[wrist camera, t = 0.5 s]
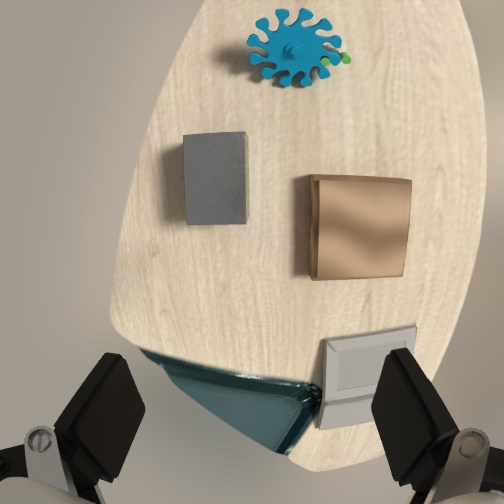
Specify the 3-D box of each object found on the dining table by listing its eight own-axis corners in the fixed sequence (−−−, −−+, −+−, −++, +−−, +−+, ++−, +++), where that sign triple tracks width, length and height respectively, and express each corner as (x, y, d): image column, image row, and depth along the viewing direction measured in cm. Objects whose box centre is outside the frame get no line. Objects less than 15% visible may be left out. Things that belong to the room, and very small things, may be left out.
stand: (310, 174, 30) (314, 175, 27) (402, 178, 30) (414, 180, 27) (308, 272, 34) (312, 282, 31) (395, 269, 33) (404, 278, 30)
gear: (239, 80, 26) (255, 0, 17) (243, 60, 28) (257, -8, 19) (335, 101, 27) (367, 31, 18) (326, 78, 30) (352, 17, 21)
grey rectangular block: (196, 139, 30) (183, 135, 24) (248, 137, 29) (244, 131, 24) (199, 214, 33) (186, 224, 27) (249, 214, 32) (246, 224, 27)
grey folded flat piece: (387, 412, 44) (393, 425, 40) (316, 425, 45) (318, 439, 41) (414, 320, 37) (424, 333, 33) (323, 335, 38) (327, 350, 34)
